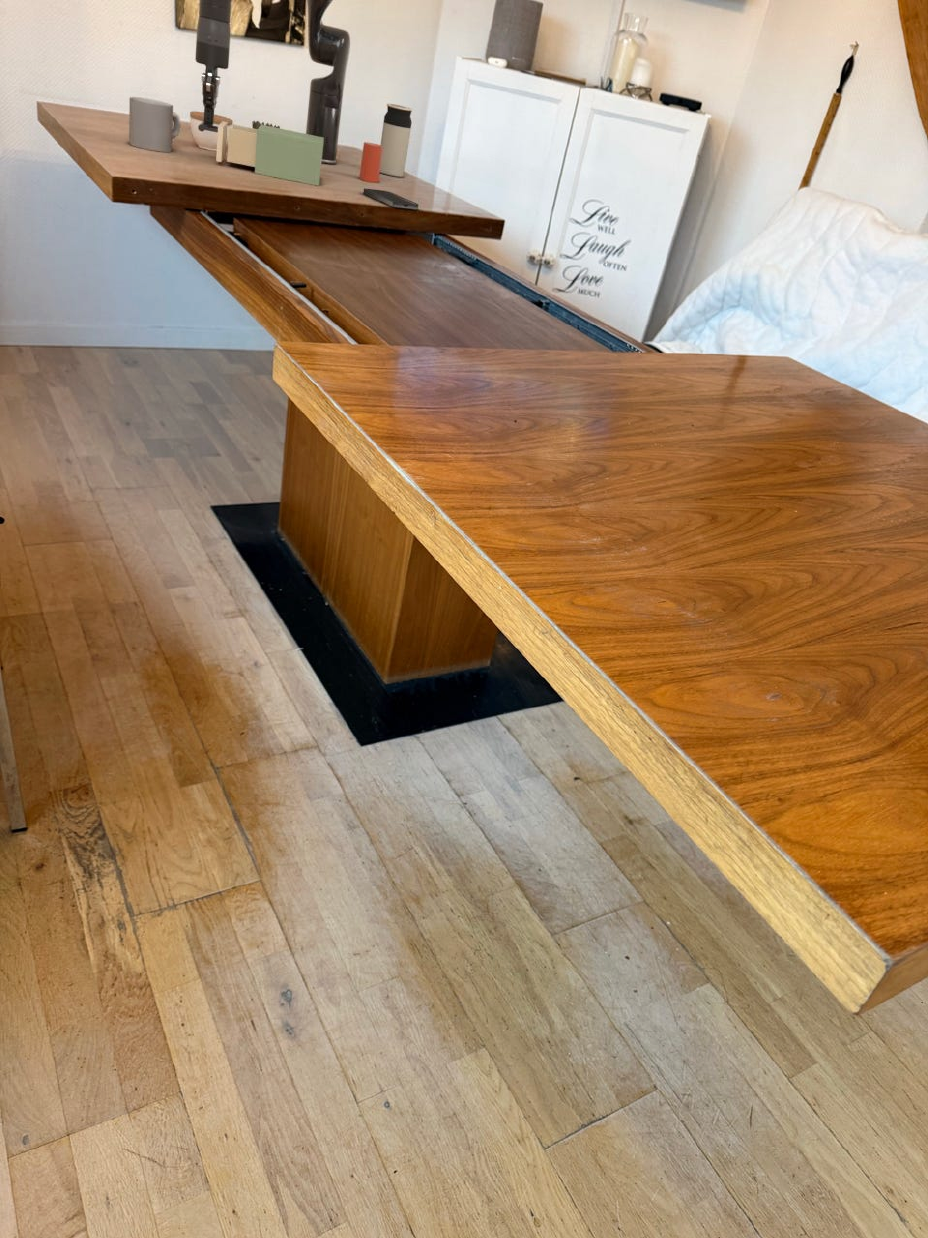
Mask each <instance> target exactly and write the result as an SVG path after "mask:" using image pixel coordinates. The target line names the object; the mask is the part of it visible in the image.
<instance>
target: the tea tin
mask: <svg viewBox="0 0 928 1238" xmlns="http://www.w3.org/2000/svg"><path fill="white" fill-rule="evenodd" d="M382 150H383V146H381V145H380V144H378V143H373V142H368V141H364V142H363V147H362V155H361V162H360V168H359V169H360V171H359V180H362V181H364V182H368V183H375V184H376V183H377V184H378V183H379V179H380V173H379V172H380V165H381V157H382Z"/></svg>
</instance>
